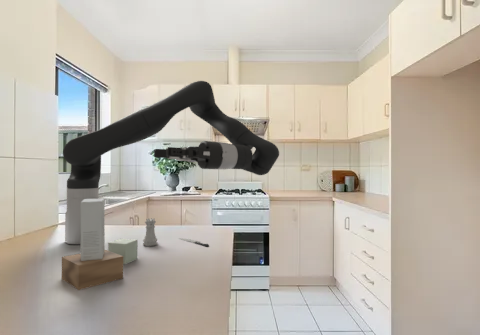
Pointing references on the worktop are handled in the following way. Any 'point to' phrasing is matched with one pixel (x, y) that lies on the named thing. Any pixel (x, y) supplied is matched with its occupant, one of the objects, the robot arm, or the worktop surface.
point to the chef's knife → (194, 242)
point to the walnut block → (92, 270)
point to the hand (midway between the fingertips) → (160, 152)
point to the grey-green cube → (124, 249)
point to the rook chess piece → (150, 233)
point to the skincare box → (92, 229)
